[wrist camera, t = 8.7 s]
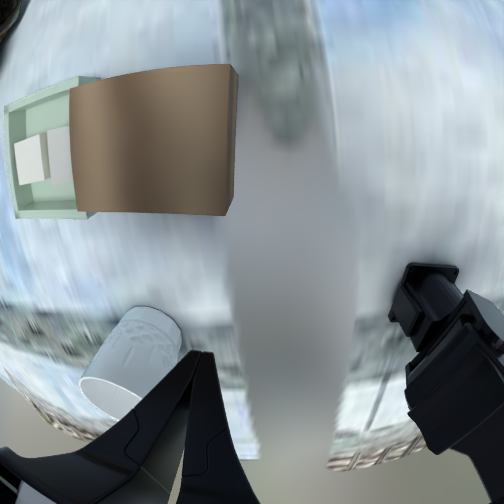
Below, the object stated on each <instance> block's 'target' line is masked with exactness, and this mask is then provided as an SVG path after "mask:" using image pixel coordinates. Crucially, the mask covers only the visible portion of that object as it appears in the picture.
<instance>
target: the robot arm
mask: <svg viewBox="0 0 504 504" xmlns="http://www.w3.org/2000/svg"><path fill="white" fill-rule="evenodd" d="M412 268H413V269H412ZM411 269H412V270H411ZM454 271H455V272H454ZM458 273H459V269H458V268H457V267H456V266H446V265H432V264H418V263H411V264H409V265H408V266H407V268H406V271H405V274H404V277H403V280H402V283H401V285H400V287H399V289H398V292H397V295H396V297H395V300H394V302H393V305H392V309H391V311H390V314H389V317H388V318H389V320H390V322H399V323H400V325H401V327H402V329H403V331H404V333H405V335H406V337H410V339H411V341H412V343H413V345H414V348H415V350H416V352H419V354H418V355H417V356H416V357H415V358H414V359H413V360H412V361H411V362H409V363H408V364H407V365H406V366H405V369H406V389H405V390H404V394H405V398H406V401H407V404H408V408H409V410H410V411H409V412H408V416H409V417H410V418H411V419H412V420H413V421H414V422H415V423H416V425H417V426H418V428H419V429H420V431H421V433H422V435H423V437H424V440H425V442H426V445H427V447H428V449H429V450H430V451H432V452H433V453H434V454H436V455H439V454H441V453H442V452H444V451H445V450H447V449H448V448H449V449H451V450H454V451H456V452H459V453H461V454H464V455H466V456H468V457H469V458H470V459H471V461H472V463H473V465H474V467H475V469H476V471H477V473H478V475H479V477H480V479H481V481H482V484H483V486H484V488H485V490H486V492H487V494H488V497H489V499H490V501H491V503H489V504H504V315H503V314H502V313H501V311H500V310H499V309H498V308H497V307H496V306H495V305H494V304H493V303H492V302H491V301H489V300H487V299H485V298H483V297H481V296H479V295H478V294H476V293H474V292H472V291H470V290H468V289H467V290H466V292H465V293H464V294H462V293H461V291H460V290H459V289H458V288H457V287H456V285H455V284H454V283H455V281H456V278H457V276H458ZM184 447H185V448H184ZM183 451H184V458H183V469H182V479H181V487H180V492H179V496H178V499H177V502H176V504H260V502H259V500H258V499H257V497H256V495H255V494H254V492H253V489H252V488H251V485H250V483H249V481H248V479H247V477H246V475H245V473H244V470H243V468H242V466H241V464H240V461H239V459H238V456H237V454H236V451H235V449H234V445H233V442H232V438H231V434H230V430H229V426H228V421H227V417H226V412H225V408H224V403H223V398H222V393H221V388H220V383H219V378H218V373H217V368H216V363H215V357H214V353H213V352H207V351H203V352H202V351H200V350H190V351H189V352H188V353H187V354H186V355H185V356H184V357H183V358H182V359H181V360H180V361H179V362H178V363H177V364H176V366H175V367H174V368H173V369H172V370H171V371H170V372H169V373H168V374H167V375H166V376H165V377H164V378H163V379H162V380H161V381H160V382H159V383H158V384H157V385H156V386H155V387H154V388H153V389H152V390H151V391H150V392H149V393H148V394H147V395H146V396H145V397H144V398H143V399H142V400H141V401H140V402H139V403H138V404H137V405H136V406H134V408H132V409H131V410H130V411H129V412H128V413H127V414H126V415H125V416H124V417H123V418H122V419H121V420H120V421H119V422H117V423H116V424H115V425H114V426H112V427H111V428H110V429H108V430H107V431H106V432H104V433H103V434H102V435H100V436H99V437H97V438H96V439H95V440H93V441H92V442H90V443H89V444H88V445H86V446H85V447H83V448H81V449H79V450H77V451H75V452H71V453H66V454H60V455H53V456H46V457H38V458H24V457H21V456H19V455H17V454H16V453H15V452H13V451H12V450H11V449H10V448H8V447H3V448H0V504H168V500H169V497H170V493H171V490H172V487H173V483H174V480H175V477H176V474H177V470H178V467H179V464H180V460H181V457H182V454H183Z"/></svg>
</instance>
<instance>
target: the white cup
mask: <svg viewBox="0 0 504 504" xmlns="http://www.w3.org/2000/svg"><path fill="white" fill-rule="evenodd" d="M181 343H182V337H181V331H180V329H179V328H178V326H177V325H176V323H175V322H174V320H172V319H171V318H170V317H168V316H167V315H166V314H164V313H163V312H162V311H159V310H156V309H153V308H150V307H147V306H145V307H134V308H132V309H130V310H129V311H127V312H126V313H125V314H124V316H123V317H122V319H121V320H120V322H119V323H118V325H117V326H116V327H115V328H114V329H113V330H112V331H111V333H110V334H109V336H108V338H107V339H106V340H105V341H104V343H103V344H102V345H101V347H100V348H99V350H98V351H97V353H96V355H95V356H94V358H93V359H92V361H91V362H90V364H89V365H88V367H87V368H86V370H85V372H84V373H83V375H82V376H81V378H80V379H79V382H78V385H79V389H80V391H81V392H82V394H83V395H84V397H85V398H86V399H87V400H88V401H89V402H90V403H91V404H92V405H93V406H95V407H96V408H97V409H99V410H100V411H101V412H103V413H104V414H106V415H108V416H110V417H111V418H113V419H115V420H117V421H120V420H121V419H122V418H123V417H124V416H125V415H126V414H127V413H128V412H129V411H130V410H131V409H132V408H134V406H136V405H137V404H138V403H139V402H140V401H141V400H142V399H143V398H144V397H145V396H146V395H147V394H148V393H149V392H150V391H151V390H152V389H153V388H154V387H155V386H156V385H157V384H158V383H159V382H160V381H161V380H162V379H163V378H164V377H165V376H166V375H167V374H168V373H169V372H170V371H171V370H172V369H173V368H174V367H175V366H176V364H177V357H178V354H179V350H180V347H181Z"/></svg>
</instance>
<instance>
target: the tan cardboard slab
mask: <svg viewBox="0 0 504 504" xmlns="http://www.w3.org/2000/svg"><path fill="white" fill-rule="evenodd" d="M237 90H238V74H237V73H236V71H235V70H234V69H233V67H232V66H231V64H211V65H193V66H181V67H171V68H163V69H155V70H149V71H142V72H136V73H131V74H126V75H121V76H116V77H111V78H107V79H103V80H99V81H95V82H91V83H87V84H84V85H80V86H77V87H73V88H70V92H69V133H70V152H71V164H72V174H73V183H74V191H75V198H76V205H77V211H78V212H138V213H170V214H194V215H214V216H225V215H226V213H227V211H228V209H229V206H230V204H231V202H232V200H233V196H234V163H235V135H236V112H237Z"/></svg>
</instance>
